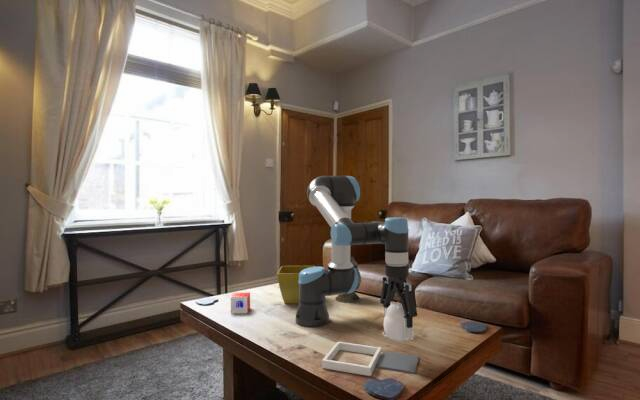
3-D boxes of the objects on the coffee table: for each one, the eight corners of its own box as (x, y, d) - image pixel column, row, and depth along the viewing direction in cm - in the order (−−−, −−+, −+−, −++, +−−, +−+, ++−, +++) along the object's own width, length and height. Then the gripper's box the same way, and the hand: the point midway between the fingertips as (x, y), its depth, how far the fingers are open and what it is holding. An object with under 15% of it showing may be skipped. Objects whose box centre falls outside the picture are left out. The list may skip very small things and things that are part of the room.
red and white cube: (250, 308, 182) (250, 292, 182) (247, 313, 174) (247, 296, 174) (234, 308, 181) (234, 292, 181) (230, 313, 173) (230, 297, 173)
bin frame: (322, 367, 117) (321, 360, 117) (337, 348, 132) (337, 341, 132) (370, 376, 111) (370, 368, 111) (381, 354, 126) (381, 347, 126)
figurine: (387, 346, 115) (386, 308, 114) (379, 334, 124) (378, 299, 124) (417, 344, 116) (417, 307, 115) (407, 333, 125) (406, 298, 125)
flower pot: (314, 305, 184) (314, 272, 184) (277, 305, 184) (276, 273, 184) (315, 295, 203) (315, 265, 203) (281, 295, 204) (281, 266, 203)
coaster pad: (376, 367, 116) (376, 365, 116) (383, 352, 128) (383, 350, 128) (414, 373, 112) (414, 371, 112) (418, 357, 123) (418, 355, 123)
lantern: (329, 298, 196) (329, 252, 196) (349, 294, 205) (348, 250, 205) (346, 304, 185) (346, 255, 185) (366, 299, 194) (366, 252, 194)
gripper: (428, 269, 111) (430, 341, 111) (387, 258, 131) (388, 319, 131) (408, 271, 108) (410, 346, 108) (369, 260, 128) (370, 322, 128)
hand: (398, 331), depth 120 cm, fingers closed on figurine, 10 cm apart
